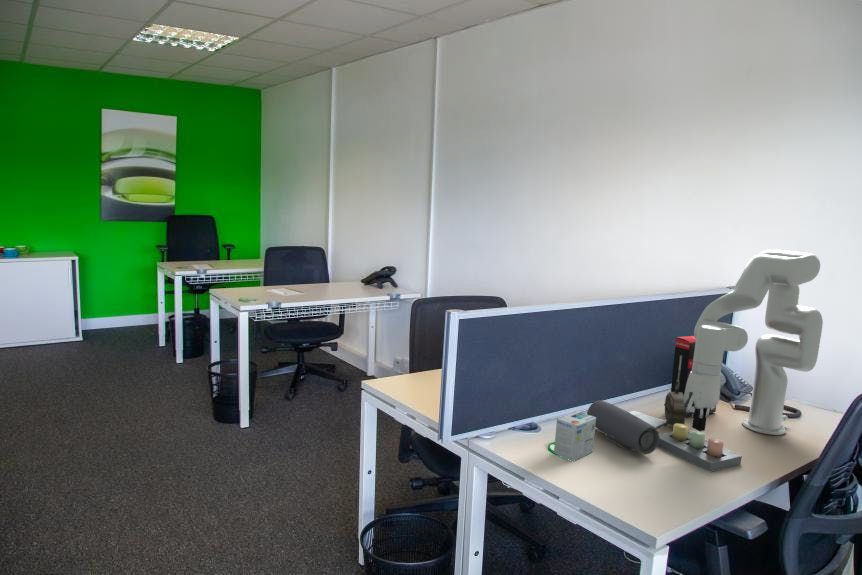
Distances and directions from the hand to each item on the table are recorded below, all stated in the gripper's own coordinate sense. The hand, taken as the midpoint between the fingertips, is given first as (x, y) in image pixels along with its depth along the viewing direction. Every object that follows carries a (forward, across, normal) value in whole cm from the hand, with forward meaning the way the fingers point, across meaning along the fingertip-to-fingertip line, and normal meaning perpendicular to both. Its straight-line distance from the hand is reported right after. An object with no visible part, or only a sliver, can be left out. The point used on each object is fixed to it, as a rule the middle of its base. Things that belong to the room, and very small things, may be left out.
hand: (698, 429), depth 174 cm
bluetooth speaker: (+8, +16, -14) cm, 23 cm away
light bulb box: (+8, +35, -13) cm, 38 cm away
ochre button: (+5, 0, -6) cm, 8 cm away
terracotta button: (+5, 0, +6) cm, 8 cm away
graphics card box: (+8, -29, -25) cm, 39 cm away
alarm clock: (+8, -10, -17) cm, 21 cm away
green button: (+5, 0, 0) cm, 5 cm away
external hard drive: (+8, -6, -25) cm, 27 cm away
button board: (+8, 0, 0) cm, 8 cm away
